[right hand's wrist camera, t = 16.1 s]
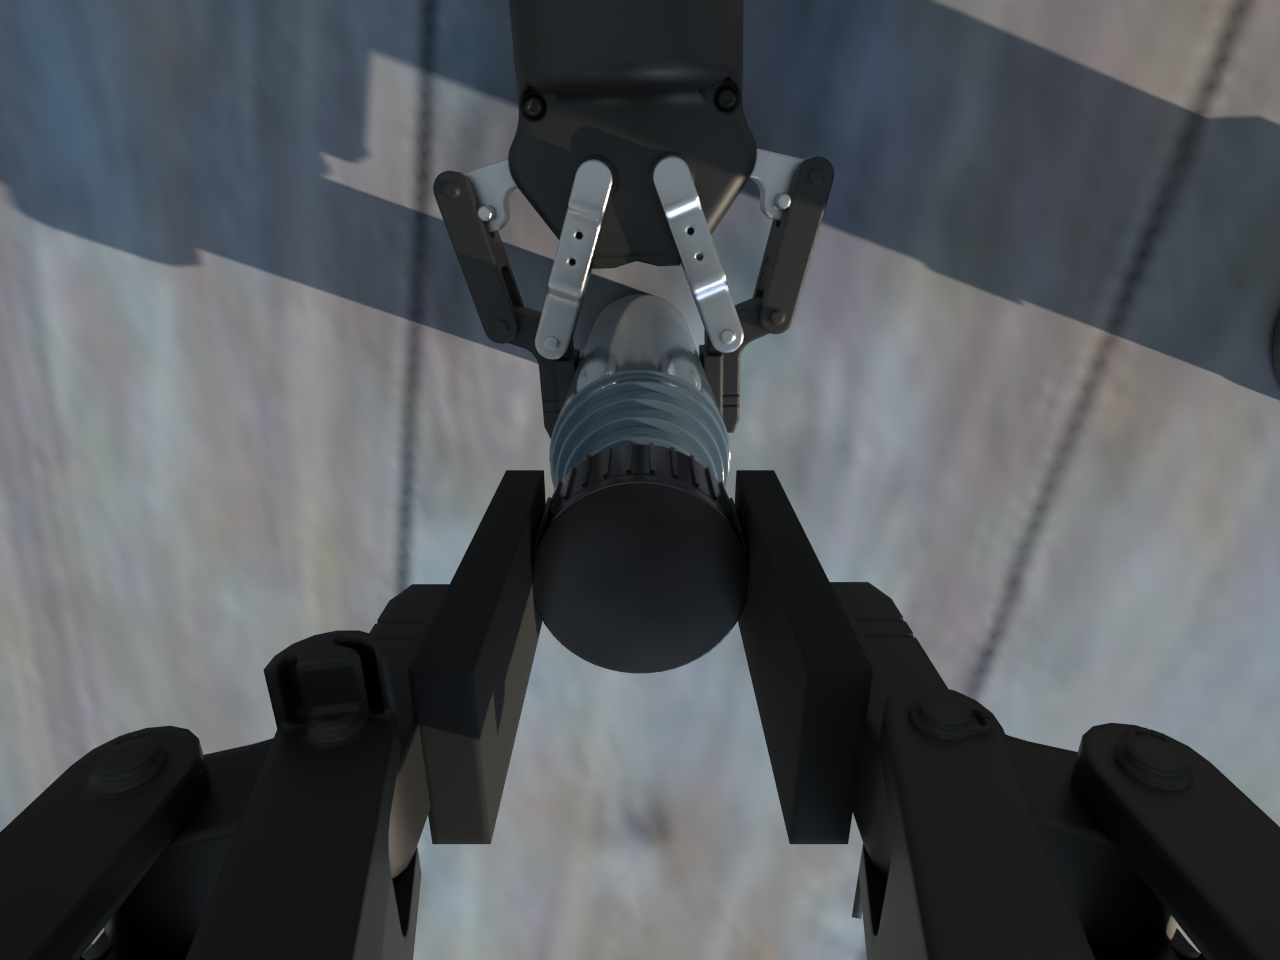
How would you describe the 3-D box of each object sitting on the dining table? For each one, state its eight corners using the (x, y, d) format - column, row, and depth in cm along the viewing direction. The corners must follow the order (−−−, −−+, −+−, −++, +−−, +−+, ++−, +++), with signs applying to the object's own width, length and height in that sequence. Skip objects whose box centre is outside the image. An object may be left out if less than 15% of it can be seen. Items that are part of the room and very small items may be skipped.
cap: (751, 598, 15) (767, 656, 13) (568, 631, 15) (558, 692, 14) (721, 422, 14) (734, 457, 12) (519, 461, 14) (500, 502, 12)
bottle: (590, 395, 34) (519, 677, 14) (587, 294, 33) (500, 448, 12) (689, 395, 34) (762, 676, 14) (692, 293, 33) (777, 446, 12)
